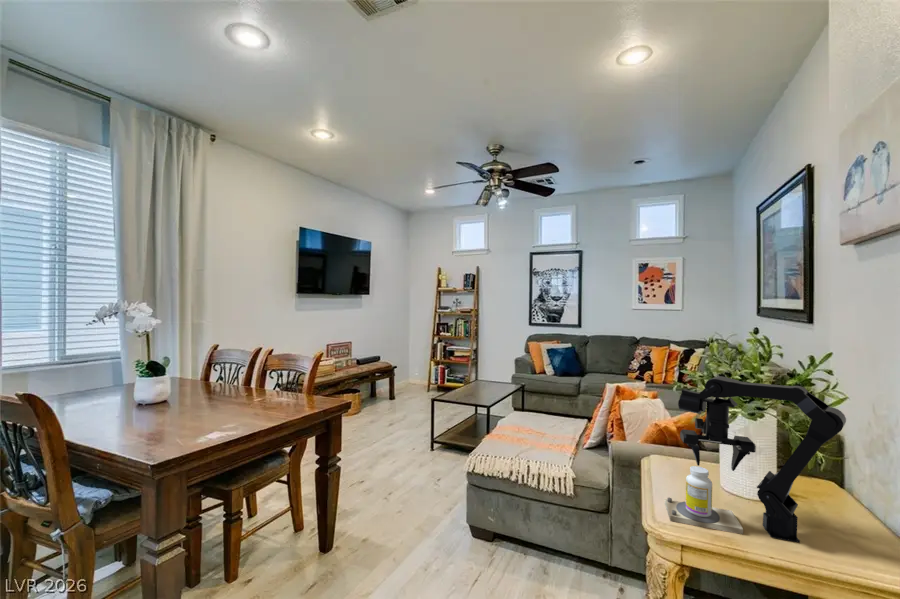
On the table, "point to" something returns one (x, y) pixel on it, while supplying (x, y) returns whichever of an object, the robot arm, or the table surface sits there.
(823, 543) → the table surface
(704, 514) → the supplement bottle
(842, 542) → the table surface
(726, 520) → the jig board
